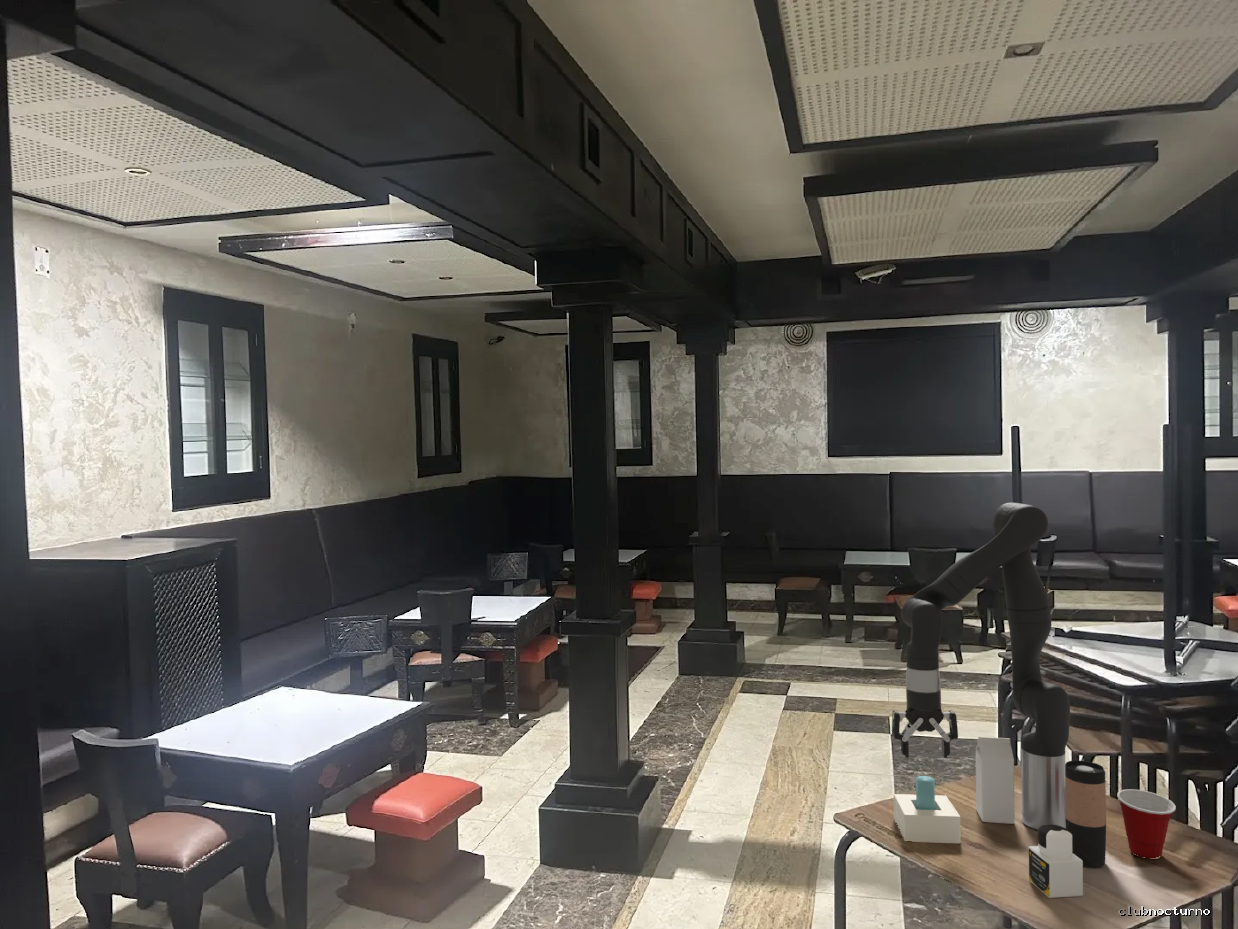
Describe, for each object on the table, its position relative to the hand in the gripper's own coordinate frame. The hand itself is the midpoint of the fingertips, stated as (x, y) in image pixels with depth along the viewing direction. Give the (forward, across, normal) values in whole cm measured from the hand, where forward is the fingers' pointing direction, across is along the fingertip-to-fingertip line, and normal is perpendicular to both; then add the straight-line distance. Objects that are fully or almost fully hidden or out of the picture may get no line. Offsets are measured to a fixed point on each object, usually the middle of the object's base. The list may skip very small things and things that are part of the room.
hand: (925, 756), depth 198 cm
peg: (+17, 0, 0) cm, 17 cm away
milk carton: (+18, -18, -9) cm, 26 cm away
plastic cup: (+18, -44, +8) cm, 48 cm away
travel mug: (+18, -30, +12) cm, 37 cm away
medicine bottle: (+17, -19, +25) cm, 36 cm away
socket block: (+17, 0, 0) cm, 17 cm away
